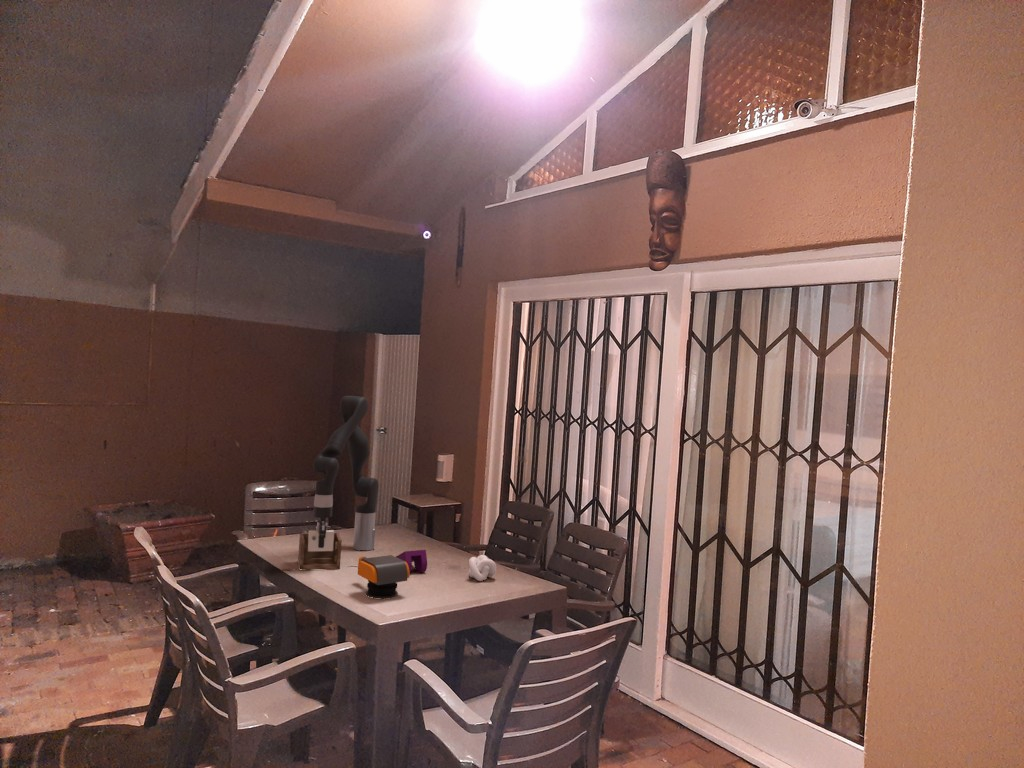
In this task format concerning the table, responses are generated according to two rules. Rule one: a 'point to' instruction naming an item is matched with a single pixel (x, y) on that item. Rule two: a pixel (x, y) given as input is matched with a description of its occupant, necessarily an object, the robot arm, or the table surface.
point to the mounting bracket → (415, 559)
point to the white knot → (481, 567)
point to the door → (314, 540)
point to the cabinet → (319, 555)
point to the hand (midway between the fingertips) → (320, 546)
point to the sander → (383, 575)
